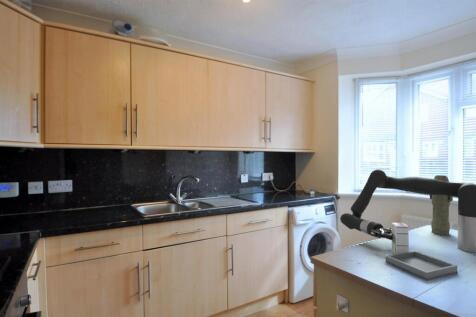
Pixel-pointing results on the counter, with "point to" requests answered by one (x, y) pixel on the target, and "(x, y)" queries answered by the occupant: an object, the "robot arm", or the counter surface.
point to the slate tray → (421, 265)
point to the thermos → (441, 211)
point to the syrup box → (400, 238)
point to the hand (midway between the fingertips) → (398, 237)
